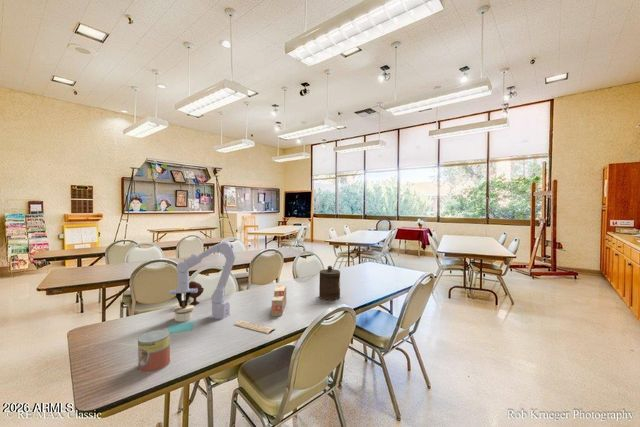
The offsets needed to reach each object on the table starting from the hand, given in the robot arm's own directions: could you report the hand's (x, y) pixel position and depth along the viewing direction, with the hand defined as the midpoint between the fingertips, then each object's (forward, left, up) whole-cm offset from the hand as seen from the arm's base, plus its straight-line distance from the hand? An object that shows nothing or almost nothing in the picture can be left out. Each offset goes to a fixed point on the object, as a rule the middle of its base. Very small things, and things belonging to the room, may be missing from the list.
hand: (183, 306), depth 162 cm
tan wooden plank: (-44, 0, -9) cm, 45 cm away
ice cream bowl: (+11, -24, -8) cm, 28 cm away
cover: (0, 0, -2) cm, 2 cm away
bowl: (0, 0, -8) cm, 8 cm away
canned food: (-21, +43, -8) cm, 48 cm away
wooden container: (-73, -59, -8) cm, 94 cm away
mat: (-7, +11, -8) cm, 15 cm away
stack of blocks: (-47, -27, -8) cm, 55 cm away
